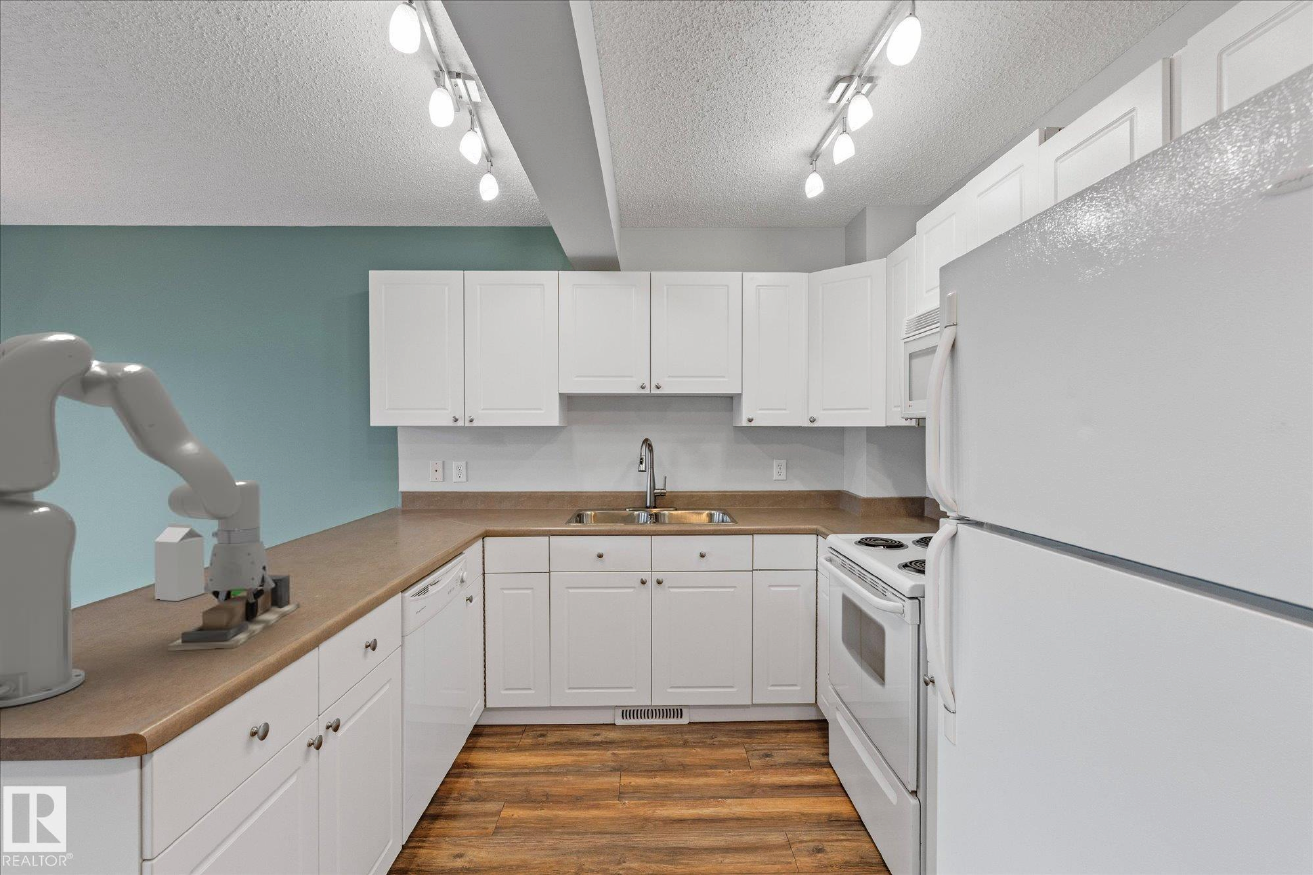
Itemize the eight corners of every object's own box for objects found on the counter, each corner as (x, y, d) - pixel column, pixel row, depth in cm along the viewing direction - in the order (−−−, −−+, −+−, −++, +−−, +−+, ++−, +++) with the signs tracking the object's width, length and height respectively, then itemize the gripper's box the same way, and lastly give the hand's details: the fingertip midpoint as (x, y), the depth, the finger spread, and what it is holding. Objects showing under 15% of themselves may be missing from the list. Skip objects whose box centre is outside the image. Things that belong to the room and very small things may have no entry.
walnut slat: (223, 635, 119) (223, 611, 119) (202, 636, 119) (202, 612, 119) (271, 607, 137) (270, 586, 137) (252, 608, 137) (252, 587, 137)
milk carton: (177, 601, 146) (176, 526, 145) (154, 600, 147) (153, 525, 147) (204, 593, 153) (204, 521, 152) (182, 592, 154) (182, 520, 154)
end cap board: (233, 648, 116) (233, 607, 116) (167, 650, 115) (167, 609, 114) (299, 606, 143) (299, 573, 143) (246, 607, 141) (246, 574, 141)
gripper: (186, 540, 123) (186, 626, 124) (270, 539, 125) (271, 623, 125) (209, 533, 131) (209, 615, 131) (288, 532, 133) (289, 612, 133)
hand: (239, 618), depth 128 cm, fingers closed on walnut slat, 4 cm apart
